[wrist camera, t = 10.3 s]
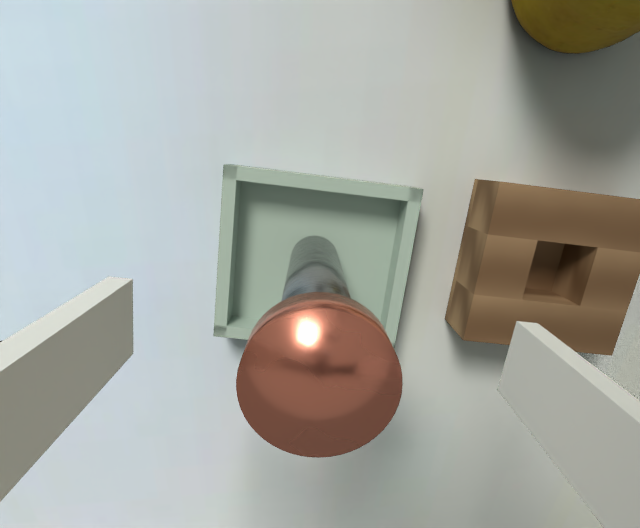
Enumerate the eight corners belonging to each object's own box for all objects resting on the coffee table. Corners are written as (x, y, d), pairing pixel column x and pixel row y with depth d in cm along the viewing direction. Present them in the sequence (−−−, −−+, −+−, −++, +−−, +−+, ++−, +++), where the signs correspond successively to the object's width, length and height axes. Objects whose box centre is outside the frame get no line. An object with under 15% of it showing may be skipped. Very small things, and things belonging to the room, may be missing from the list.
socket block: (474, 179, 26) (499, 181, 22) (618, 197, 26) (663, 202, 23) (444, 318, 28) (463, 340, 25) (576, 332, 29) (611, 355, 25)
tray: (231, 164, 25) (223, 164, 23) (413, 187, 26) (423, 189, 23) (221, 321, 28) (213, 336, 26) (386, 338, 28) (393, 354, 26)
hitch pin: (275, 288, 27) (230, 450, 12) (282, 219, 26) (242, 300, 10) (344, 296, 27) (387, 463, 12) (354, 228, 26) (416, 319, 11)
